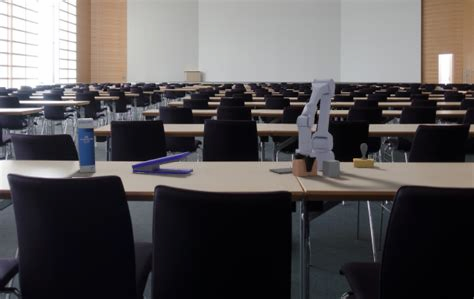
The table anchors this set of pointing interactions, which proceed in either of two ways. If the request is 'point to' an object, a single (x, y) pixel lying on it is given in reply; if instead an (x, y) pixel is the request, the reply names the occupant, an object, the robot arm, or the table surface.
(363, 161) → the rubber stamp
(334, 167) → the grey rectangular block
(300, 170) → the salmon rectangular prism
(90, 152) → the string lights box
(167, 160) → the stapler
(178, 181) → the table surface
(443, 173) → the table surface
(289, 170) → the charcoal mat
